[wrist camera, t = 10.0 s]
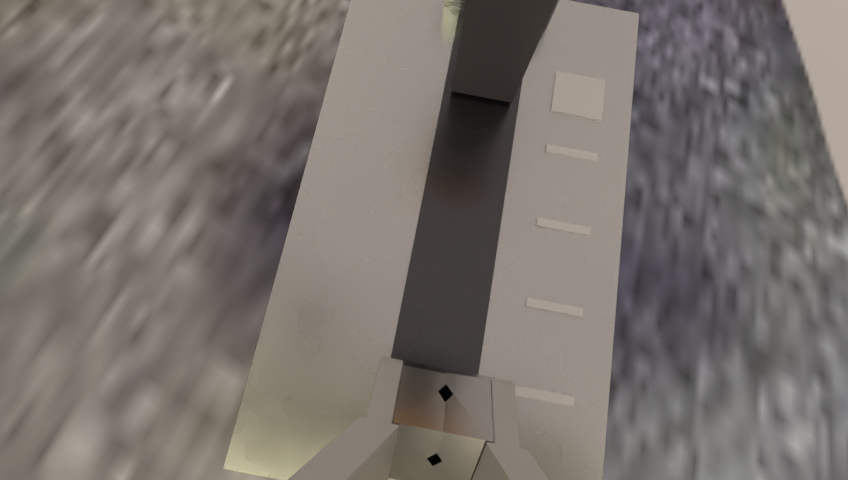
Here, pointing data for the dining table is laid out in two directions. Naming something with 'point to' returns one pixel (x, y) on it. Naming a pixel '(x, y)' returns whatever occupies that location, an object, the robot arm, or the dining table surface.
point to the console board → (452, 236)
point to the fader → (498, 45)
